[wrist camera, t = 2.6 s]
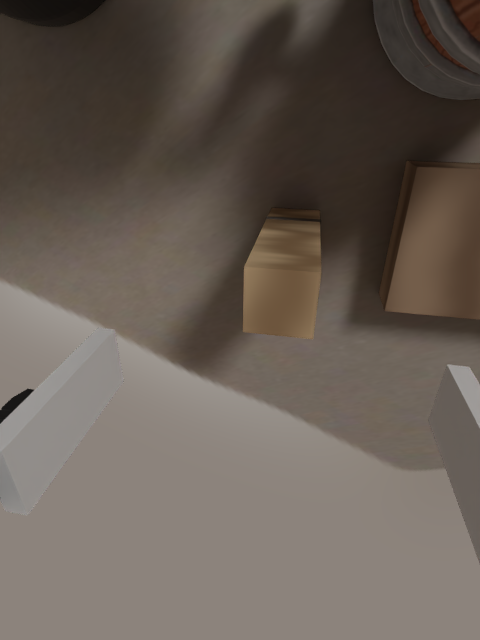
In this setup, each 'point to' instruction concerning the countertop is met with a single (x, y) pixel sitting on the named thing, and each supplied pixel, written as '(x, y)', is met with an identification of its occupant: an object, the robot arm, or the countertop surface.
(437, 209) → the board
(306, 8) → the countertop surface
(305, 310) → the peg
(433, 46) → the mug
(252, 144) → the countertop surface
